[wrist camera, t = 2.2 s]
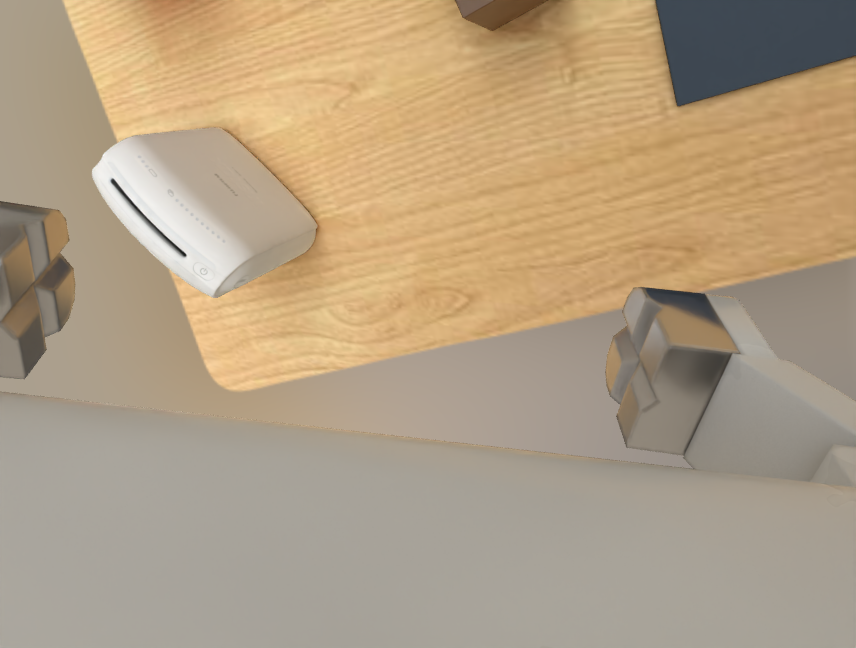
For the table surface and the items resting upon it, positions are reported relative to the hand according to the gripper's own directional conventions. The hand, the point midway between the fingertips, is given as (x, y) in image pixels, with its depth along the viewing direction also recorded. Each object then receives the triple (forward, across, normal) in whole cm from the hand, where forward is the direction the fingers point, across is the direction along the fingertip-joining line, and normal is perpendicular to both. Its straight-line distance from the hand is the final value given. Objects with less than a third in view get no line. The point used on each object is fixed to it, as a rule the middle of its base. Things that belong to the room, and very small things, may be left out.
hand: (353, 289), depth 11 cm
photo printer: (+37, +8, +16) cm, 41 cm away
